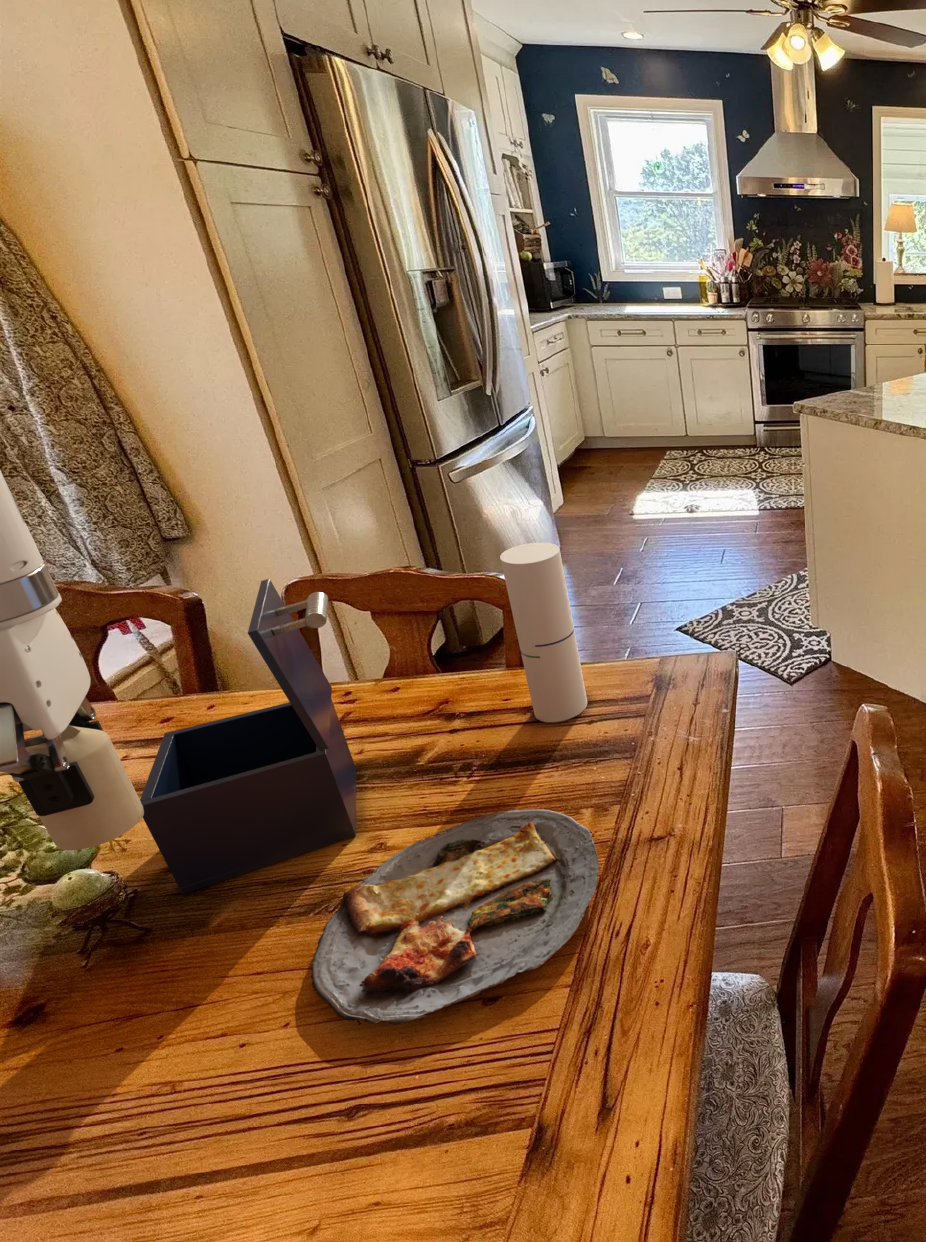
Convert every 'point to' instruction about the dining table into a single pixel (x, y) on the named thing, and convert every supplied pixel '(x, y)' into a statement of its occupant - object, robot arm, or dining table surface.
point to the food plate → (456, 915)
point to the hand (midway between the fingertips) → (78, 783)
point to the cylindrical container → (545, 630)
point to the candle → (110, 786)
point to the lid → (294, 656)
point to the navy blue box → (247, 795)
